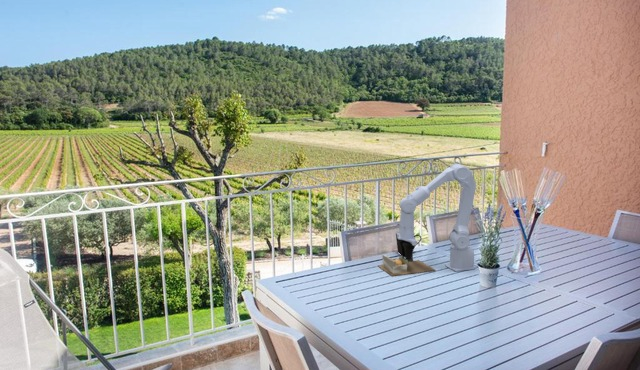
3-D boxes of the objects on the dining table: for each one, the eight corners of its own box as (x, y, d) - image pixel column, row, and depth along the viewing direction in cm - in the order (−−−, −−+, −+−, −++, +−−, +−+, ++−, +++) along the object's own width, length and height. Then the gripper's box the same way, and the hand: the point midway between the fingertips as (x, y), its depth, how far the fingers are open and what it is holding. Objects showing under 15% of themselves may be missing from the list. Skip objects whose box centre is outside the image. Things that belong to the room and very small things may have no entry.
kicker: (408, 262, 207) (409, 245, 206) (415, 267, 202) (416, 249, 201) (398, 264, 206) (398, 246, 205) (405, 268, 200) (405, 250, 199)
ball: (393, 256, 204) (389, 265, 203) (398, 259, 200) (394, 268, 200) (401, 260, 205) (397, 268, 205) (405, 262, 201) (401, 271, 201)
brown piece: (418, 261, 213) (419, 249, 213) (435, 270, 200) (435, 258, 199) (377, 266, 207) (377, 254, 207) (392, 276, 194) (392, 263, 193)
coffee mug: (394, 255, 223) (394, 234, 221) (396, 250, 231) (397, 230, 229) (419, 257, 219) (420, 236, 218) (421, 252, 227) (421, 231, 226)
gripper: (390, 223, 207) (390, 254, 209) (406, 231, 193) (406, 263, 195) (405, 222, 209) (405, 252, 211) (422, 229, 195) (421, 261, 197)
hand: (406, 257), depth 203 cm, fingers closed on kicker, 2 cm apart
